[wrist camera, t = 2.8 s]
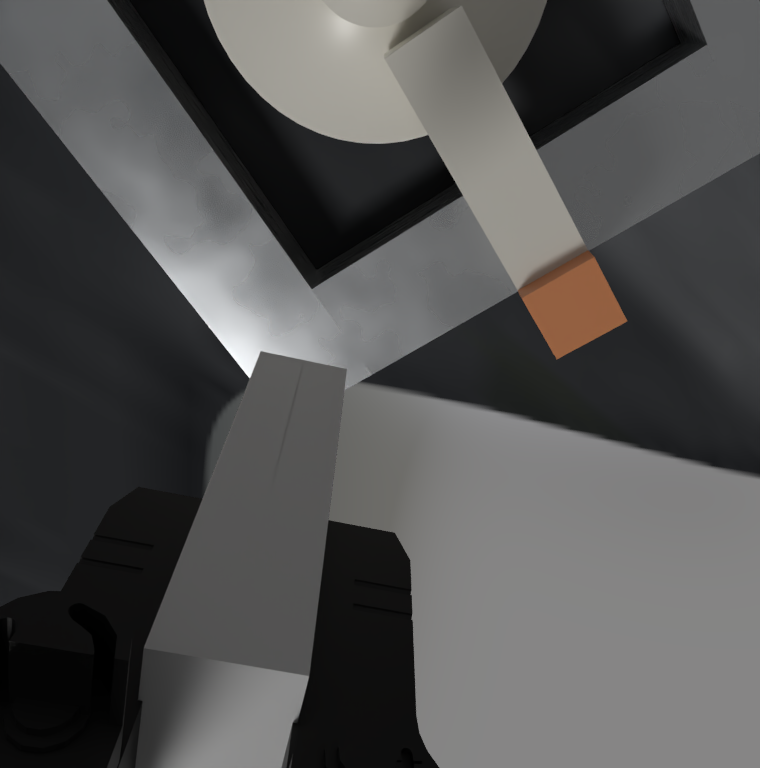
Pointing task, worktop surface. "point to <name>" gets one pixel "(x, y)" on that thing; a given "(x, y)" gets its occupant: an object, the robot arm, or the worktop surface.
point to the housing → (400, 238)
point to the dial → (433, 121)
